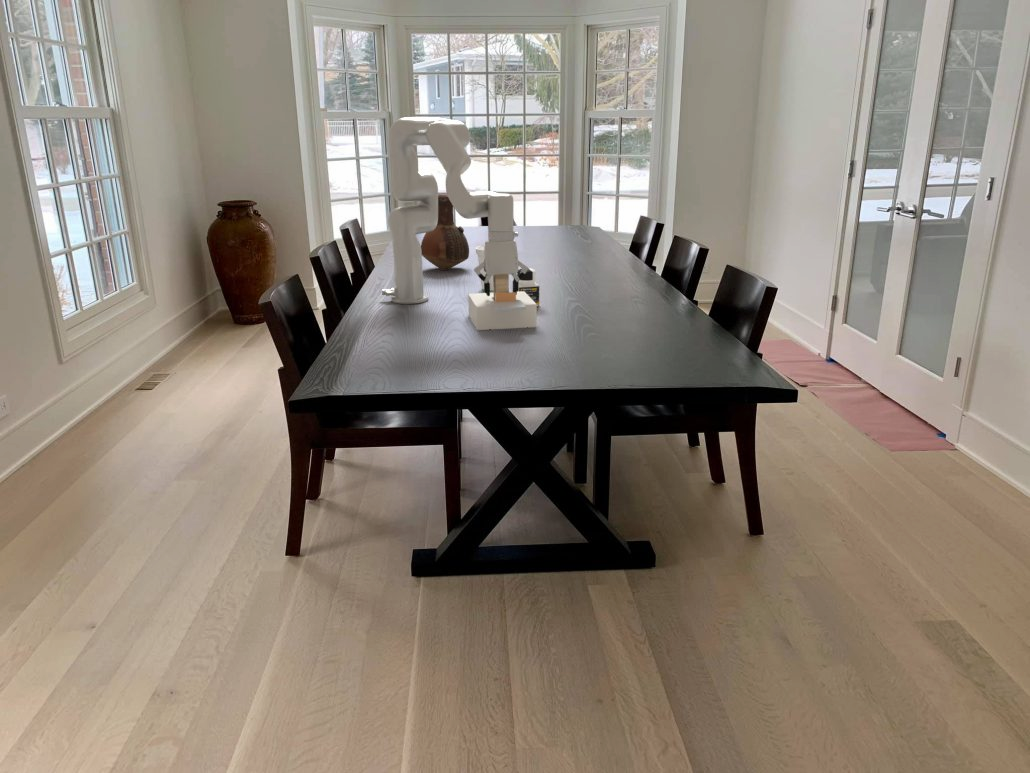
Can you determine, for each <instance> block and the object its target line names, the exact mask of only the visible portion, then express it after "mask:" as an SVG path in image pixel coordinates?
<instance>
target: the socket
mask: <svg viewBox="0 0 1030 773" xmlns="http://www.w3.org/2000/svg"><path fill="white" fill-rule="evenodd" d="M467 296H468V297H467V298H468V300H467V301H468V305H467V306H468V316H469V319H470V318H471V319H470V320H471V323H472V324H473V326H474V328H475V327H476V328H475V330H476V331H487V330H489V329H491V330H505V329H508V330H509V329H524V328H527V327H528V328H537V315H538V314H537V313H538V312H537V307H538V306H537V304H536V303H535V302H534V301H533V300H532V299H531V298H530V297H529V296H528V295H527V294H526V293H525V292H524V291H520V292H517V295H516V300H520V301H521V302H522V303H523V304H524V305H525V306H526V310H505V311H495V310H494V308H493V307H492V306H491V304H490V301H494V292H490V296H487V295H486V293H484V292H480V293H479V292H478V293H468V295H467ZM489 331H490V330H489Z"/></svg>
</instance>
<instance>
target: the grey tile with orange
mask: <svg viewBox="0 0 1030 773" xmlns="http://www.w3.org/2000/svg"><path fill="white" fill-rule="evenodd" d="M490 304H491V306H492V307H493V308H494V310H495V311H505V310H526V306H525V305H524V304H523V303H522V302H521V301H520V300H516V293H515V292H513V291H509V292H506V293H495V301H490Z"/></svg>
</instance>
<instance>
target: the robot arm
mask: <svg viewBox="0 0 1030 773" xmlns="http://www.w3.org/2000/svg"><path fill="white" fill-rule="evenodd" d="M470 141H471V133H470V130H469V127H468V126H467V125H466V124H465V123H464V122H462V121H460V120H455V119H448V118H441V117H437V116H436V117H435V116H434V117H430V116H427V117H426V116H424V117H423V116H407V117H401V118H398V119H397V120H395V121H393V123H392V124H391V125H390V128H389V130H388V145H389V146H388V147H389V150H390V151H389V152H390V154H391V155H390V156H391V159H390V160H391V186H392V187H391V188H392V196H393V197H394V200H396V201H398V202H401V203H410V202H411V203H412V202H416V204H410V205H402V206H398V207H395V208H393V209H392V210H391V211H390V212H389V215H388V220H387V222H388V227H389V232H390V236H391V241H392V253H393V269H394V270H393V272H394V286H393V287H391V289H390V288H389V289H387V288H386V289H385V288H384V289H381V293H382V294H381V295H382V296H386V297H389V296H391V298H390V299H391V302H393V303H395V304H402V305H412V304H413V305H414V304H421V303H425V302H427V301H428V300H429V295H428V294H425V293H424V276H423V256H422V250H421V243H420V241H419V240H418V238H417V235H421V234H426V233H427V232H431V231H433V230H434V229H435V228H436V226H437V223H438V195H439V185H438V181H437V180H436V178H435V176H434V175H433V174H432V173H431V172H430V171H427V170H419V159H418V156H417V153H416V151H415V149H414V146H430V148H431V150H432V151H433V153H434V155H435V156H436V158H437V160H438V161H439V163H440V164H441V166H442V167H443V169H444V171H445V173H446V175H445V191H446V195H447V196H448V198H449V200H450V202H451V203H452V205H453V209H454V210H455V211H456V212H457V213H458V215H459V216H460V217H461V218H464V219H467V220H471V219H479V218H486V217H487V225H488V226H487V232H488V237H487V238H488V240H485V245H484V246H485V249H484V262H482V263H481V264H480V265H479V264H478V265H476V267H475V268H473V271H474V272H475V274H476V275H477V277H478V278H479V280H480V281H481V280H482V281H484V291H483V293H486V295H487V296H490V293H491V292H490V283H489V279H490V278H491V276H492V275H495V274H509V275H511V276H512V278H513V280H512V292H515V293H516V295H517V292H518V290H519V281H520V279H521V278H522V277H523V276H524V274H525V273H526V272H527V270H528V268H529V267H528V266H527V265H526V264H524V263H522V262H521V261H520V260H519V256H518V255H519V254H518V246H517V242H516V240H515V238H516V237H517V238H518V237H519V232H518V231H515V229H514V221H515V220H514V196H512V194H511V193H504V192H503V193H502V192H501V193H499V192H494V191H491V190H483V191H473V192H470V191H468V189H467V188H466V186H465V184H464V183H463V180H462V174H464V173H465V172H466V171H467V170H469V168H470V166H471V164H472V158H471V157H470V155H469V154H468V152H467V150H466V149H465V148H466V147H467V146H468V145H469V144H470ZM519 267H520V269H522V270H521V272H520V273H519V274H518V275H517V272H518V270H519ZM482 268H484V271H485V272H486V274H485V276H483V275H482V274H481V272H480V270H481V269H482Z"/></svg>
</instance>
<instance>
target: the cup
mask: <svg viewBox="0 0 1030 773" xmlns="http://www.w3.org/2000/svg"><path fill="white" fill-rule="evenodd" d="M484 249H485V245H479V246H476V247H475V254H476V255H477V259H478V265H480V264H481V263H482V262H484ZM480 272H481V274H482V275H483V276H485V274H486V272H485V271H484V268H482V269H481V270H480ZM489 283H490V293H494V290H493V275H492V276H491V278H490V279H489ZM480 285H481V290H482V291H483V292H484V281H482V280H481V279H480Z"/></svg>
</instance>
